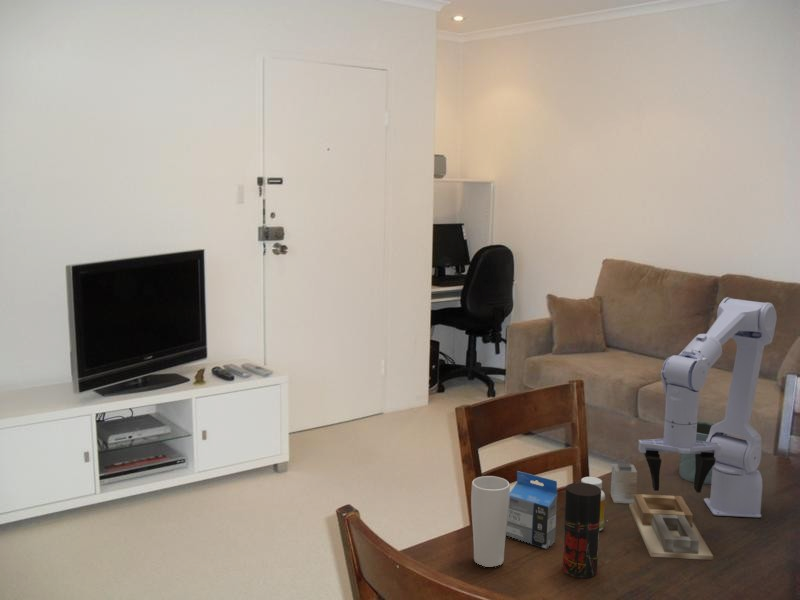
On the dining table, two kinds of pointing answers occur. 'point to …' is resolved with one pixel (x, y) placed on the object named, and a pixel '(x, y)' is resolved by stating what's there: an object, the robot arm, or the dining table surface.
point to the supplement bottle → (598, 483)
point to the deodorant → (581, 530)
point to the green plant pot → (689, 459)
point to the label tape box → (533, 510)
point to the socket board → (668, 527)
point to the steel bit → (623, 483)
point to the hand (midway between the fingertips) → (676, 489)
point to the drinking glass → (489, 519)
